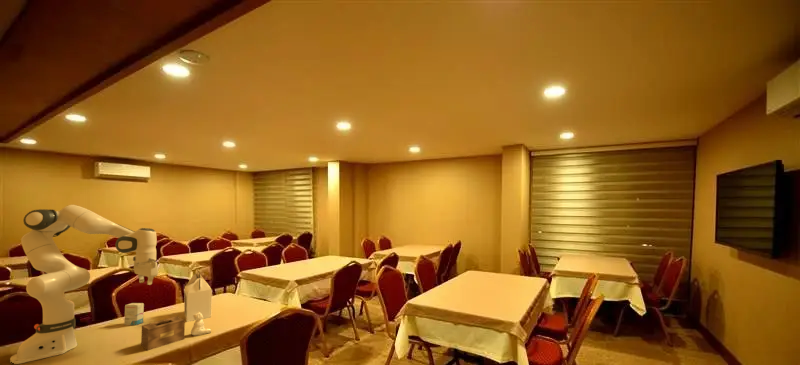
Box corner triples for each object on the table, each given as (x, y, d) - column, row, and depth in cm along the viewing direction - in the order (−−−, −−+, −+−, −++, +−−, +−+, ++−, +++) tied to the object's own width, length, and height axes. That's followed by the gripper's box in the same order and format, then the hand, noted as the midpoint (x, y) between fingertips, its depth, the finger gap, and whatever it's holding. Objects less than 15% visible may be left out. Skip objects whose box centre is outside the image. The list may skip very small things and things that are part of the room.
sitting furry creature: (212, 332, 183) (212, 310, 184) (196, 338, 176) (196, 315, 176) (203, 329, 188) (203, 308, 189) (186, 334, 180) (187, 312, 181)
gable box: (184, 312, 218) (185, 270, 219) (207, 308, 226) (207, 267, 227) (186, 322, 200) (187, 275, 202) (211, 317, 208) (212, 272, 210)
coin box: (148, 350, 162) (148, 329, 162) (141, 345, 168) (141, 325, 168) (184, 339, 175) (184, 320, 175) (176, 334, 181) (177, 316, 181)
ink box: (143, 322, 201) (144, 302, 202) (136, 325, 196) (137, 305, 197) (131, 322, 202) (131, 302, 202) (123, 325, 197) (124, 305, 198)
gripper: (161, 258, 177) (161, 284, 176) (144, 255, 187) (144, 280, 186) (148, 260, 171) (147, 287, 170) (131, 257, 182) (130, 282, 181)
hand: (145, 283), depth 179 cm, fingers open, 8 cm apart
